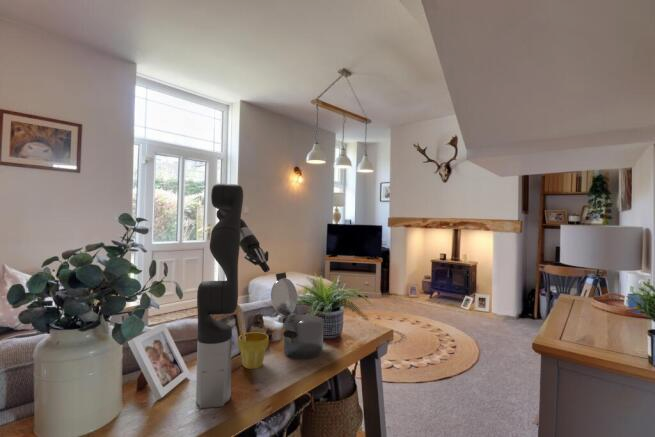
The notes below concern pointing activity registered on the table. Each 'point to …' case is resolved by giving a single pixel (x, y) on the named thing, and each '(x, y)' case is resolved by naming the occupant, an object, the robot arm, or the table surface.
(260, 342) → the plant pot
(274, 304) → the cooker lid
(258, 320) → the figurine
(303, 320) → the cooker pot
